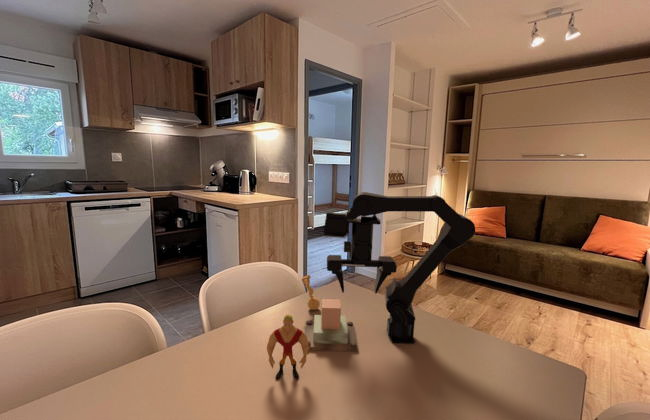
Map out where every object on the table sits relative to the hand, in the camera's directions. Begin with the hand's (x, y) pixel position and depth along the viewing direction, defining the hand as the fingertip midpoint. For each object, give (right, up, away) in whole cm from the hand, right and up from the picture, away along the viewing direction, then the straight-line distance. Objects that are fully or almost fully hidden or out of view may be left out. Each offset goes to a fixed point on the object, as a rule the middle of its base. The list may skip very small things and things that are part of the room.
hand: (359, 292), depth 83 cm
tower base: (-8, -12, -1) cm, 15 cm away
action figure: (-18, -15, -16) cm, 28 cm away
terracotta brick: (-8, -8, -2) cm, 12 cm away
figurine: (-14, -10, +14) cm, 22 cm away
